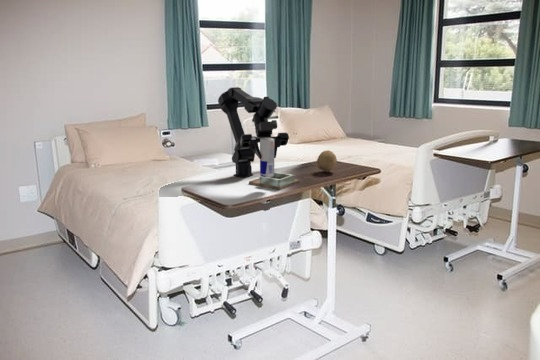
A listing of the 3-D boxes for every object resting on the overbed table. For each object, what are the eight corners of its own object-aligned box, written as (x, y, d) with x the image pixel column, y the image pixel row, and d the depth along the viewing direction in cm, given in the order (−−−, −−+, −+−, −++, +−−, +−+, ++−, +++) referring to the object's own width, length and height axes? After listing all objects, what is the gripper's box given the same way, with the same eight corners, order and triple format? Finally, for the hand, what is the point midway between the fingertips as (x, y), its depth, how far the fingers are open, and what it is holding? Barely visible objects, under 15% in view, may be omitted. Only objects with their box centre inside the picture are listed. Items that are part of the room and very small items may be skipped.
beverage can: (272, 173, 194) (272, 137, 190) (275, 177, 189) (275, 139, 184) (259, 174, 193) (258, 137, 188) (261, 178, 187) (261, 140, 183)
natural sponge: (340, 173, 218) (341, 151, 216) (324, 175, 215) (324, 153, 212) (330, 169, 226) (330, 148, 224) (313, 171, 223) (313, 149, 220)
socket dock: (248, 183, 202) (248, 175, 201) (268, 177, 213) (268, 168, 212) (280, 189, 193) (280, 180, 192) (299, 182, 204) (299, 173, 203)
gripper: (240, 113, 185) (246, 148, 178) (288, 112, 189) (295, 145, 182) (238, 130, 195) (243, 163, 188) (282, 128, 199) (289, 160, 192)
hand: (267, 158), depth 187 cm, fingers closed on beverage can, 5 cm apart
